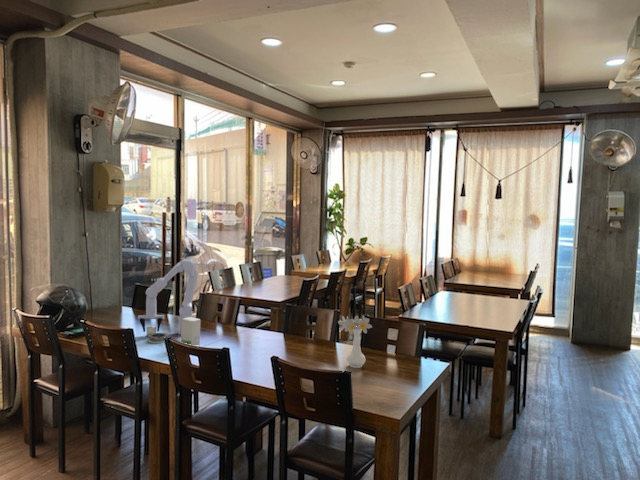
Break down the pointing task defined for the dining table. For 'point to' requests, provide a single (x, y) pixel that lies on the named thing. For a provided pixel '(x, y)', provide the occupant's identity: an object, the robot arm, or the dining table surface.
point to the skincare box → (190, 331)
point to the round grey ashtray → (157, 338)
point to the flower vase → (355, 339)
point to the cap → (151, 330)
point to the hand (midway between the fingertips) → (151, 331)
